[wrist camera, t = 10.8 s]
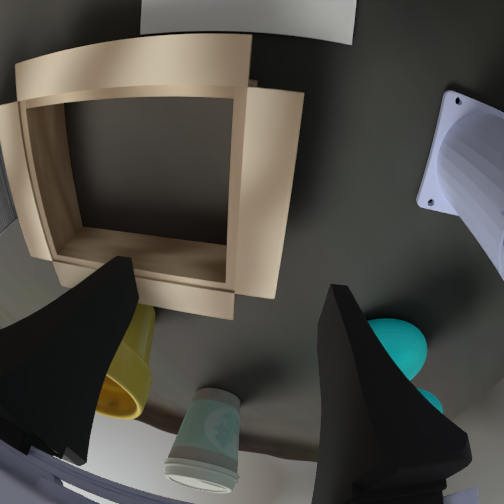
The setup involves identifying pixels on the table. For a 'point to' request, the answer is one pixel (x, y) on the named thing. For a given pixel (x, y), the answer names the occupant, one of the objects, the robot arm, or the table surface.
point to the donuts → (404, 348)
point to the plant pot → (129, 369)
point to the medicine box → (5, 199)
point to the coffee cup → (207, 443)
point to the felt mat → (253, 17)
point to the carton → (147, 246)
